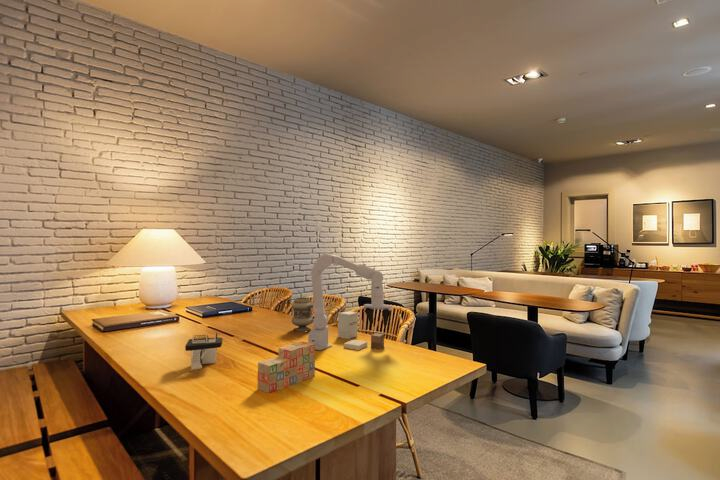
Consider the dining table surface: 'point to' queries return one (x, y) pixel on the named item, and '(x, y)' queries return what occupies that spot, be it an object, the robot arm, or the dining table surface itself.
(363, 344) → the base slab
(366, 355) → the dining table surface
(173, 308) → the dining table surface
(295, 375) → the stack of blocks
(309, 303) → the stone urn vase
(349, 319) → the supplement box
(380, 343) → the walnut block
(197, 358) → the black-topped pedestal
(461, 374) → the dining table surface
